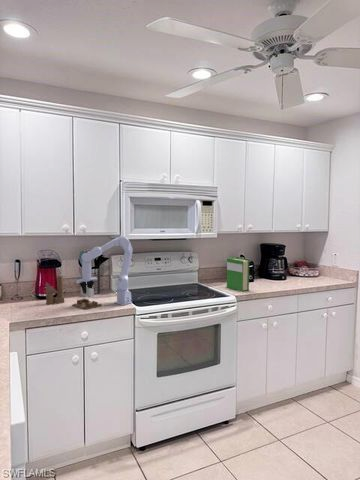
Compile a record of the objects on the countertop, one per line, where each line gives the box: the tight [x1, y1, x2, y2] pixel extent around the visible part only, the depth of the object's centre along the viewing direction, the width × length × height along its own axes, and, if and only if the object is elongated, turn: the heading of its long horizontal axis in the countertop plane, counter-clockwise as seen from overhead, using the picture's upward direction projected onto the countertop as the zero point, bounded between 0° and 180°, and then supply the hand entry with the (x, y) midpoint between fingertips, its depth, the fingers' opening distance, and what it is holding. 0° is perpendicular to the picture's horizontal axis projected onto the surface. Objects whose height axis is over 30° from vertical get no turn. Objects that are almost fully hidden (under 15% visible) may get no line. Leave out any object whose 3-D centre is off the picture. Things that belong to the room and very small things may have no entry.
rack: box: [72, 298, 103, 311], centre depth 223 cm, size 14×12×3 cm
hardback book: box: [226, 257, 250, 293], centre depth 276 cm, size 18×7×24 cm, turn 34°
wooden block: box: [45, 274, 65, 306], centre depth 228 cm, size 4×11×18 cm, turn 124°
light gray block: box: [80, 286, 95, 298], centre depth 222 cm, size 10×3×5 cm, turn 50°
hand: (87, 292), depth 222 cm, fingers closed on light gray block, 3 cm apart
